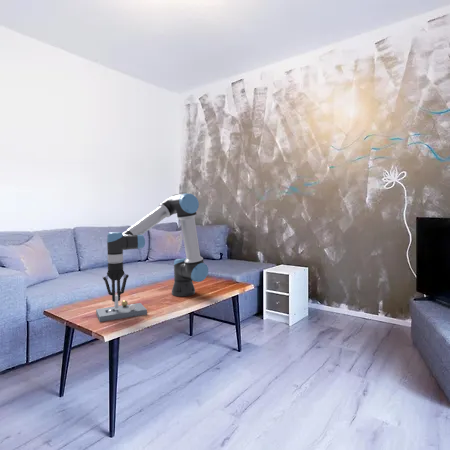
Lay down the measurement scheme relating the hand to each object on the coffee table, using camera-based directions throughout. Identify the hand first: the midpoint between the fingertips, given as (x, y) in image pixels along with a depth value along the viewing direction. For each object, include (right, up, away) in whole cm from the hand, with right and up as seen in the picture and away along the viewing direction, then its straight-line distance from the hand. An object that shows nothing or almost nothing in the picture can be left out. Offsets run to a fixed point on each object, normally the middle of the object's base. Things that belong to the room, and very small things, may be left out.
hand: (116, 307), depth 164 cm
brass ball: (+2, +1, +6) cm, 7 cm away
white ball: (+9, 0, -1) cm, 9 cm away
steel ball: (-2, -2, -1) cm, 4 cm away
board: (+2, -4, +1) cm, 5 cm away
